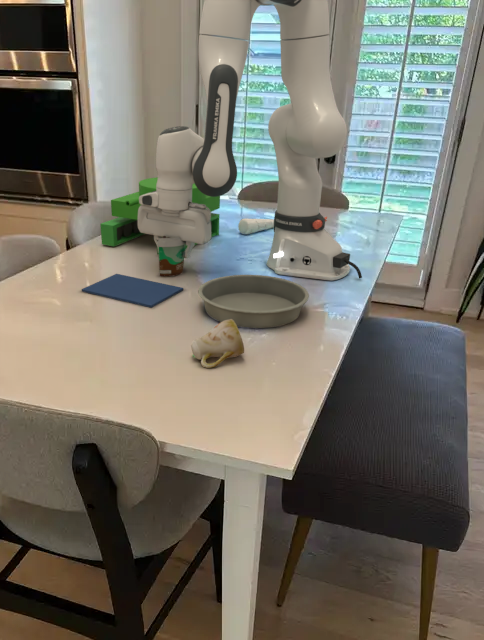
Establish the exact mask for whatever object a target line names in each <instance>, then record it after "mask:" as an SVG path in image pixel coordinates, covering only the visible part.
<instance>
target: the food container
mask: <svg viewBox="0 0 484 640" xmlns="http://www.w3.org/2000/svg"><path fill="white" fill-rule="evenodd" d="M185 244H186V241H182V240H181V239H180V237H175V238H169V237H166V236H163V238H158V247H159V255H158V267H159V268H158V270H159V271H158V272H159V273H158V274H159V277H176V276H180V275H182V274H183V273H184V266H185V265H184V264H185V258H182V251H184V250H185Z"/></svg>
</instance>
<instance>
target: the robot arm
mask: <svg viewBox="0 0 484 640" xmlns="http://www.w3.org/2000/svg"><path fill="white" fill-rule="evenodd" d="M328 1H329V0H203V6H202V11H201V16H200V17H201V18H200V25H199V31H198V32H199V34H198V46H197V47H198V48H197V49H198V50H197V52H198V67H199V74H200V77H201V79H202V82H203V83H202V84H203V87H204V90H205V96H206V98H205V99H206V110H205V111H206V113H205V125H204V137H202V136H201V135H199V134H198V133H196V132H195V131H194V130H192V129H191V128H190V126H185V125H184V126H183V125H182V126H181V125H180V126H172V127H168V128H165V129H164V130H163V131H161V132H160V134H159V135H158V137H157V141H156V151H155V152H156V153H155V169H156V173H157V177H158V180H157V184H156V191H153V192H151V193H147V194H144V195H141V196H140V197H139V203H140V204H141V206H140V207H139V209H138V229H139V231H140V232H141V233H145V234H144V235H151V236H153V240H154V243H155V244H156V247H157V246H158V238H163V236H166V237H169V238H175V237H180V239H181V240H182V241H186V246H188V247H187V249H186V250H184V251H182V258H184V259H185V260H188V259H190V258H191V253H192V250H193V248H194V247H195V246H196V245H195V243H198V244H197V245H205V244H207V243H209V242H210V241H211V240H212V237H211V222H210V220H211V213H212V212H211V211H210V210H209V208H208V207H206V205H204V204H197V203H192V185H193V184H194V183H195V185H196V187H197V188H198V189H199V191H201V192H202V193H203V194H205V195H207V196H211V197H218V196H220V197H221V196H224V195H226V194H227V193H229V192H230V191H232V189H233V187H234V186H235V184H236V181H237V178H238V168H237V167H238V166H237V163H236V160H235V159H236V158H235V156H234V152H233V138H234V127H235V115H236V105H237V99H238V95H239V90H240V86H241V82H242V78H243V75H244V71H245V68H246V63H247V58H248V52H249V45H250V36H251V25H252V23H253V18H254V16H255V13H256V11H257V9H258V8H259V7H260V6H272V5H273V6H274V8H275V9H276V12H277V15H278V19H279V23H280V25H279V39H280V43H279V44H280V74H281V75H280V76H281V80H282V83H283V85H284V86H285V88H286V90H287V92H288V97H289V99H290V103H287V104H284V105H281V106H279V107H277V108H276V109H275V110H274V111H273V112H272V113H271V116H270V118H269V120H268V125H267V128H268V129H267V130H268V135H269V137H270V140H271V141H272V143H273V147H274V152H275V153H274V154H275V161H276V166H277V176H278V185H277V186H278V187H277V199H276V200H277V201H276V210H275V212H274V217H273V220H274V228H273V236H272V237H273V238H272V243H271V248H270V252H269V255H268V257H267V260H266V262H265V263H266V266H267V267H268V268H270V269H271V270H273V271H274V273H275V274H277V275H281V276H289V277H298V278H306V279H314V280H323V281H329V282H330V281H337V280H340V279H343V278H345V277H346V276H348V274H350V272H351V267H352V268H353V269H354V270H355V271H356V273H357V276H358V279H359V280H360V279H362V278H363V276H362V271H361V270H360V268H359V267H358V265H356V263H354V262H352V261H350V259H351V253H348V252H343V248H342V245H341V244H340V243H339V242H338V241H337V240H336V239H335V238H334V237H333V236H332V235H331V234H330V233H329V232H328V231H327V230H326V229H325V226H326V222H327V221H328V220H327V219H328V216H325V217H324V215H322V214H321V213H320V208H321V200H322V199H321V198H322V192H323V191H322V190H323V179H322V176H321V175H320V173H319V170H318V167H317V159H326V158H331V157H333V156H335V155H337V154H338V153H339V152H340V151H341V150H342V148H343V147H344V145H345V143H346V141H347V135H348V126H347V123H346V121H345V118H344V117H343V116H342V114H341V113H340V111H339V108H338V106H337V102H336V98H335V93H334V91H333V85H332V79H331V70H330V69H331V68H330V67H331V66H330V65H331V64H330V63H331V59H330V58H331V57H330V56H331V55H330V40H331V39H330V11H329V2H328ZM158 253H159V247H158Z"/></svg>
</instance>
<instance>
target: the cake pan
mask: <svg viewBox="0 0 484 640" xmlns="http://www.w3.org/2000/svg"><path fill="white" fill-rule="evenodd" d="M197 294H198V296H199V298H200V299H201V300H202V301H203V305H204V308H205V312H206V313H207V315H208V316H209V317H210V318H212V319H213V320H215V321H218V322H219V323H221V322H222V321H225V320H229V319H232V320H233V321H234V322H235V323H236V325H237V327H239V328H248V329H268V328H269V329H270V328H275V327H281V326H285V325H288V324H290V323H293V322H295V320H297V319H298V318H299V317H300V314H301V311H302V308H303V306H304V305H305V304H306V303H308V301H309V298H310V294H309V291H308V290H307V289H306V288H305V287H304V286H302V285H301V284H299V283H296V282H294V281H291V280H289V279H285V278H282V277H277V276H272V275H271V276H270V275H262V274H232V275H224V276H220V277H216V278H213V279H212V278H211V279H209V280H207V281H206V282H204V283H202V284H201V285H200V286H199V288H198V290H197Z"/></svg>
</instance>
